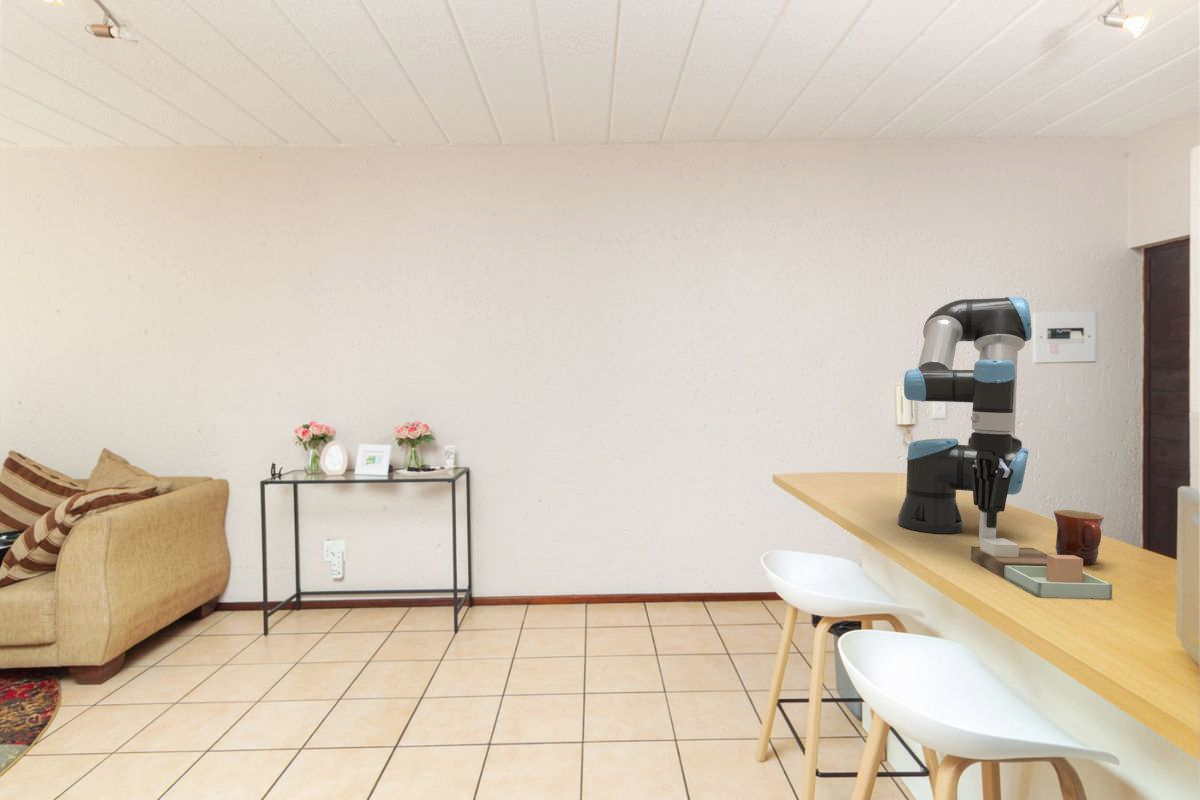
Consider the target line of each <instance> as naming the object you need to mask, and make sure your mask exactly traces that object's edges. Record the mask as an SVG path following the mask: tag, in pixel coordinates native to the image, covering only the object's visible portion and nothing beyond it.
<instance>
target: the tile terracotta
mask: <svg viewBox="0 0 1200 800" xmlns="http://www.w3.org/2000/svg"><path fill="white" fill-rule="evenodd" d="M1083 570H1084V565H1083V559H1082V558H1079V557H1077V556H1074V555H1057V554H1048V555H1047V573H1046V580H1047V581H1049V582H1062V583H1082V575H1083V572H1084V571H1083Z"/></svg>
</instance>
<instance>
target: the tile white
mask: <svg viewBox="0 0 1200 800" xmlns="http://www.w3.org/2000/svg"><path fill="white" fill-rule="evenodd" d="M979 547H980V550H982V551H984V552H986V553H987V554H989V555H991V556H995V557H1018V554H1019V548H1020V545H1019V544H1017V543H1015V542H1014V541H1011V540H1008V539H1007V538H997V537H996V538H980V541H979Z"/></svg>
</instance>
